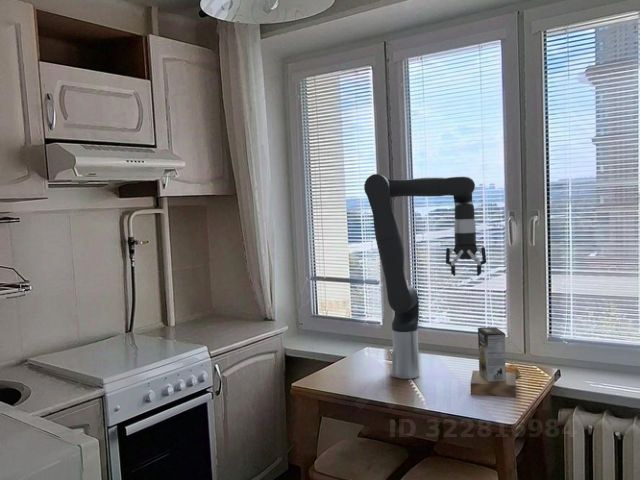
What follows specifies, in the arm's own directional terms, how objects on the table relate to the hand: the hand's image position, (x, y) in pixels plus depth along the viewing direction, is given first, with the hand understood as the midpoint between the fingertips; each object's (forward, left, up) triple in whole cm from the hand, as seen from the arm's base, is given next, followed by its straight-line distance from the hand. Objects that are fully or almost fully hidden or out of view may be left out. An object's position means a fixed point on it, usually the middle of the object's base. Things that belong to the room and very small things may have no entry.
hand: (466, 275), depth 205 cm
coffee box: (+9, -18, -32) cm, 38 cm away
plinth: (+9, -18, -36) cm, 41 cm away
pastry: (+14, -3, -37) cm, 39 cm away
